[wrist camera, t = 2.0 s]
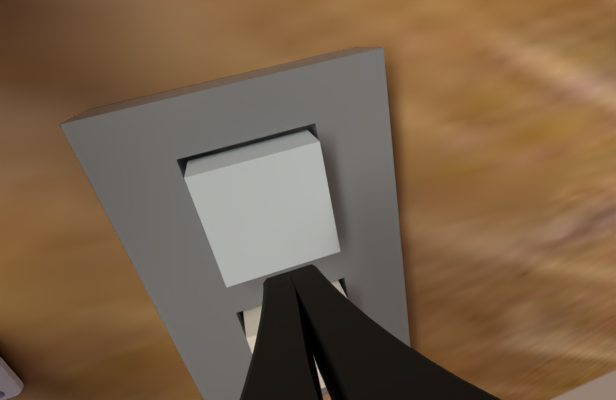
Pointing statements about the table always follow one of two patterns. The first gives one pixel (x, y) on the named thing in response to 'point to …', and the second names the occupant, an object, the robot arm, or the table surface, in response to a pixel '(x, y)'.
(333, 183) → the key console
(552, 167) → the table surface
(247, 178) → the pale blue key
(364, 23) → the table surface
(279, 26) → the table surface
